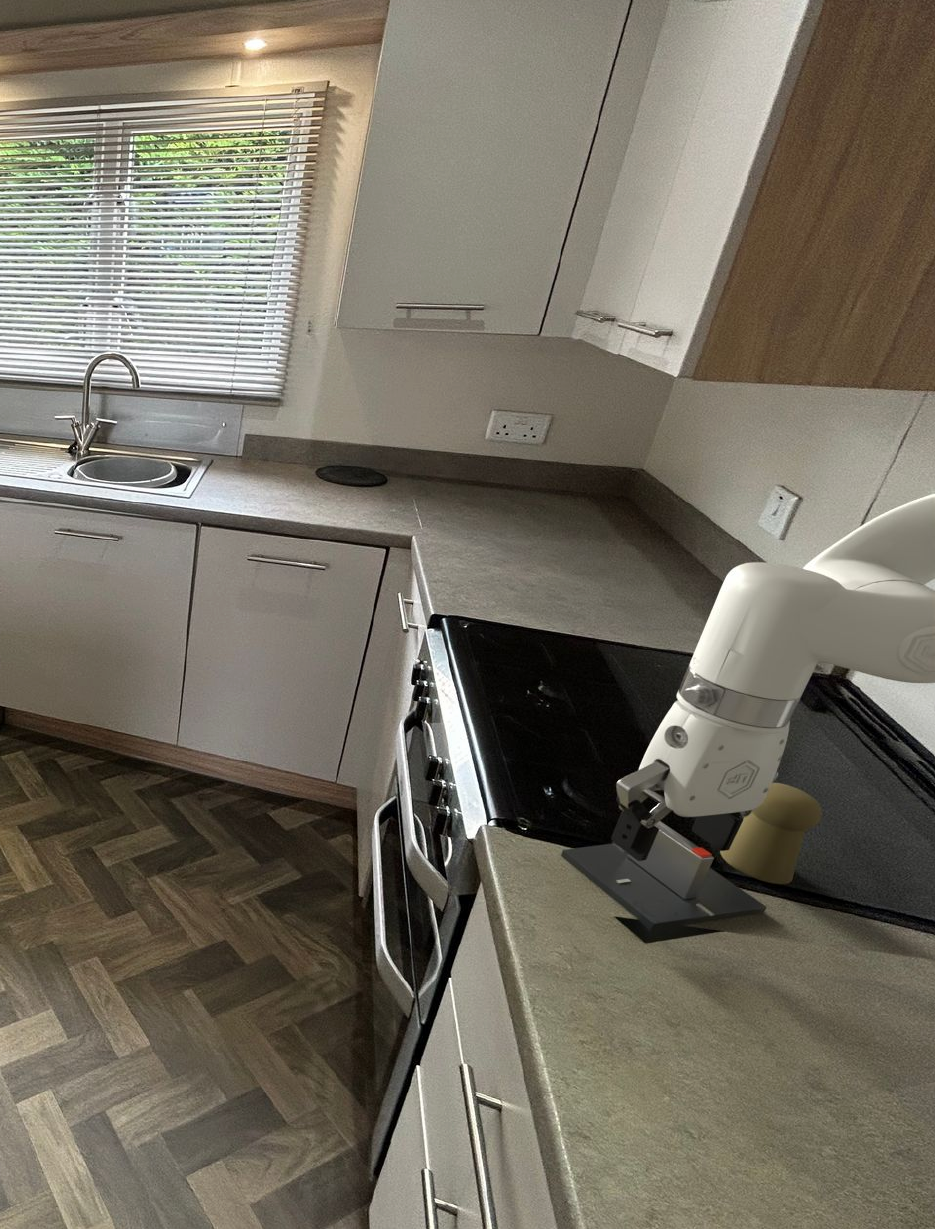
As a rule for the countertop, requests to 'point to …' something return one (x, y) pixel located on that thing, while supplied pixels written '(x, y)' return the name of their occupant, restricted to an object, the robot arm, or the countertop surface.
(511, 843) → the countertop surface
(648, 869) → the tap handle
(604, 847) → the plate
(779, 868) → the cork
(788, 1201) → the countertop surface
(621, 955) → the countertop surface
